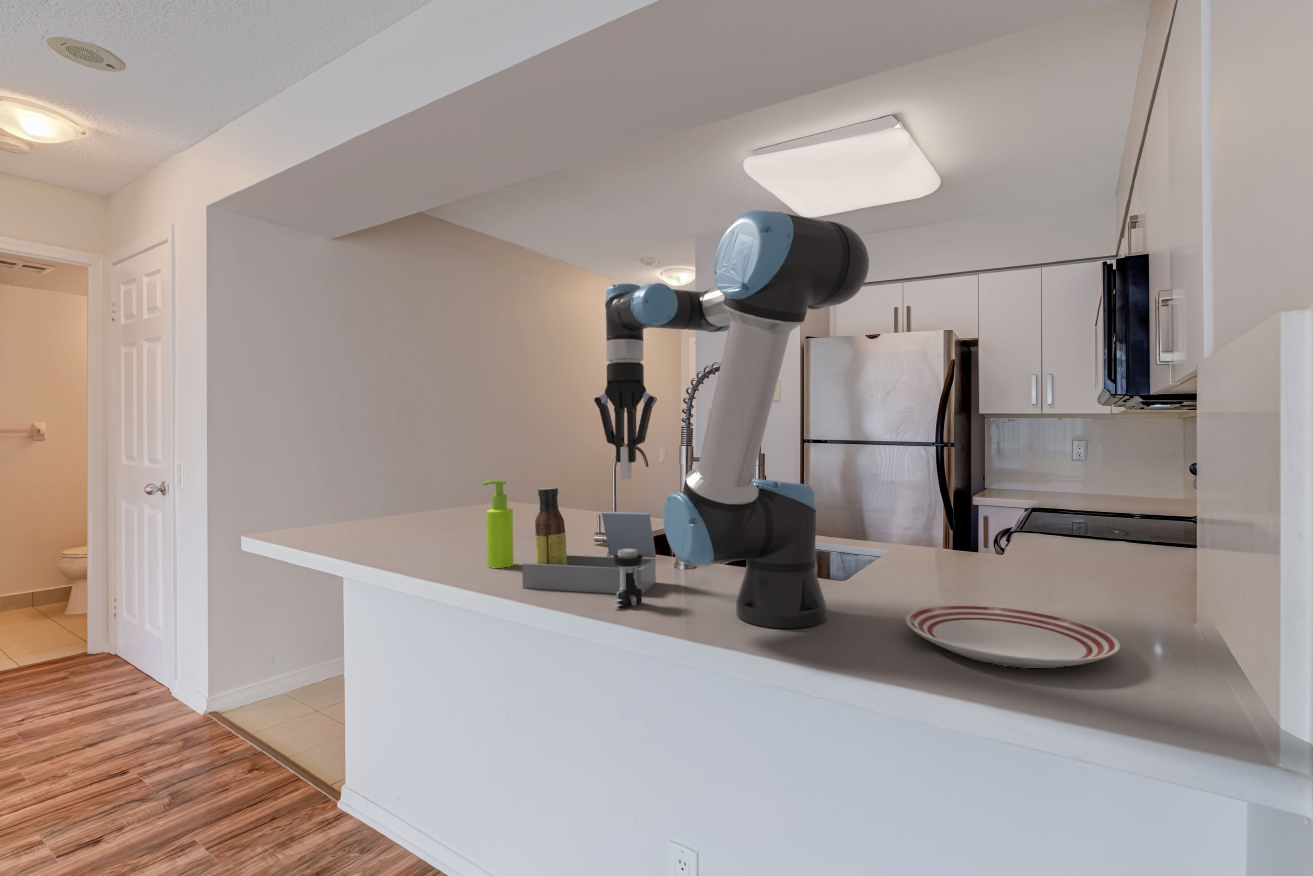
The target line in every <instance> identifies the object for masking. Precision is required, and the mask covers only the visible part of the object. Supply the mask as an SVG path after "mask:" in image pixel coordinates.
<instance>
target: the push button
mask: <svg viewBox="0 0 1313 876" xmlns="http://www.w3.org/2000/svg"><path fill="white" fill-rule="evenodd" d="M612 557H613V558H614V559H615V565H617V566H619V568H620V588H619V590H620V591H619V592H617V593H616V594H615V597H616V598H615V599H614V600H612V603H613V602H614V603H616V604H615V605H613V606H612V607H613V608H617V607H618V608H622V609H627V608H628V607H629V608H630V607H634V606H637V605H641V604H642V601H643V600H642V599H643V597H642V596H643V594H642V590H641V589H638V588H637V584H636V567H638V565H640V564H641V559H642V558H644V557H643V555H641V554H638V550H637V549H630V548H628V549H620V550H618V554H616V555H614V556H612Z"/></svg>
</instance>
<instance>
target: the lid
mask: <svg viewBox="0 0 1313 876" xmlns="http://www.w3.org/2000/svg"><path fill="white" fill-rule="evenodd" d="M601 517H602V522H603V528H604V532H605V538H606V539H605V540H606V543H607V549H608V550H607V551H608V555H609V556H608V557H613V556H614V555H616V554H618V550H620V549H628V548H630V549H637V550H638V554H641V555H643V558H650V559H656V557H657V555H656V548H655V542H654V535H653V534H654V533H653V528H652V521H651V520H652V519H651V513H650V512H635V511H634V512H633V511H632V512H629V511H602V512H601Z"/></svg>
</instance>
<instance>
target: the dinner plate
mask: <svg viewBox="0 0 1313 876" xmlns="http://www.w3.org/2000/svg"><path fill="white" fill-rule="evenodd" d="M904 618H905V623H906V625H907V627H909V628H910V629H911V630H912V631H913V632H914V633H916V634H917V635H918V636H920V637H922V638H924V639H925V640H927V641H928V642H930V643H932V644H935V645H937V646H939V647H941V648H943V649H946V650H947V651H950V652H952V653H954V654H956V653H957V654H956V655H958V654H959V655H958V656H961V655H962V656H961V657H963V656H965V657H964V658H967V657H969V658H968V659H970V658H972V659H971V660H973V659H975V660H974V661H977V660H979V661H978V662H981V661H983V662H982V663H985V662H988V663H987V664H989V663H994V664H993V665H995V664H998V665H997V666H1000V665H1006V666H1005V667H1007V666H1013V667H1012V668H1015V667H1021V668H1020V669H1028V668H1053V669H1056V668H1055V667H1061V668H1064V667H1063V666H1067V667H1071V666H1080V665H1086V664H1090V663H1094V662H1098V661H1100V660H1101V661H1102V660H1104V659H1106V658H1108V657H1111V656H1113V655H1115V654H1116V653H1118V652H1119V651H1120V649H1121V644H1120V642H1119V640H1118V639H1117V638H1116V637H1115V636H1113V635H1112V634H1110V633H1108V632H1107V631H1105V630H1102V629H1101V628H1099V627H1096V626H1094V625H1092V624H1091V625H1090V624H1089V623H1085V622H1083V621H1079V620H1076V619H1072V618H1069V617H1065V616H1061V615H1058V614H1057V615H1056V614H1052V613H1048V612H1042V611H1037V610H1032V609H1031V610H1030V609H1024V608H1018V607H1010V606H1001V605H1000V606H999V605H991V604H990V605H989V604H973V603H972V604H969V603H965V604H964V603H948V604H946V603H945V604H936V605H929V606H924V607H919V608H916V609H913V610H912V611H910V612H908V613H907V614H906V615H905V617H904Z"/></svg>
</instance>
